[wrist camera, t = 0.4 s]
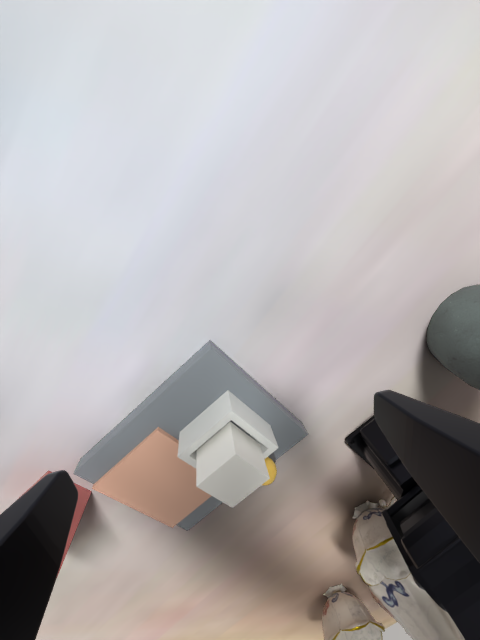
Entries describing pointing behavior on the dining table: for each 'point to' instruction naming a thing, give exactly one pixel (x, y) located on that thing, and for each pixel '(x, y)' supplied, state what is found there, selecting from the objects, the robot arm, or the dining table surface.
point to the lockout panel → (186, 438)
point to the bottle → (458, 334)
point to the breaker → (230, 465)
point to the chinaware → (383, 589)
